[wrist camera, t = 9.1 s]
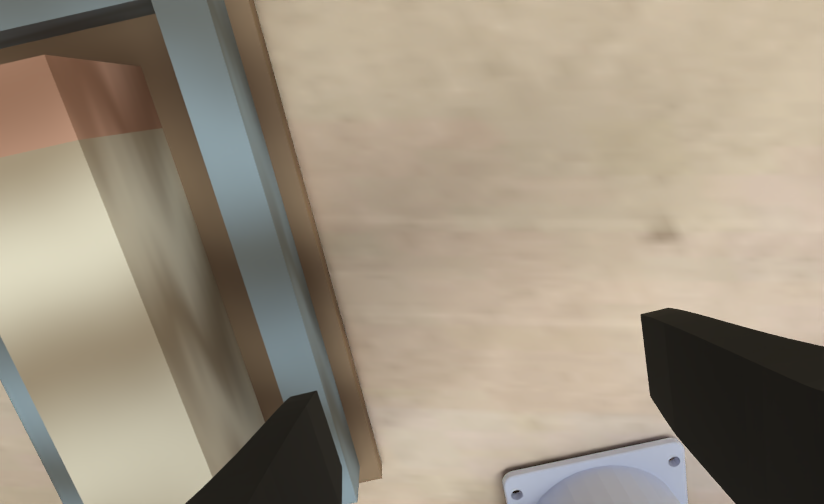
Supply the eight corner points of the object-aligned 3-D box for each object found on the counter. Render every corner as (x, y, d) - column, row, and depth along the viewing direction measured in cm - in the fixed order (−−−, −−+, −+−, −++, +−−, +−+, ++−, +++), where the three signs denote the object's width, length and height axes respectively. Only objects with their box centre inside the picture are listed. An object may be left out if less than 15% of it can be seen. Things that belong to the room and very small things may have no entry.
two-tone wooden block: (266, 426, 21) (230, 523, 16) (170, 447, 21) (106, 550, 16) (140, 66, 17) (43, 54, 12) (22, 93, 17) (-121, 92, 12)
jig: (381, 465, 23) (381, 514, 20) (115, 521, 23) (80, 578, 20) (233, -70, 17) (204, -102, 14) (-127, 12, 17) (-224, -4, 14)
